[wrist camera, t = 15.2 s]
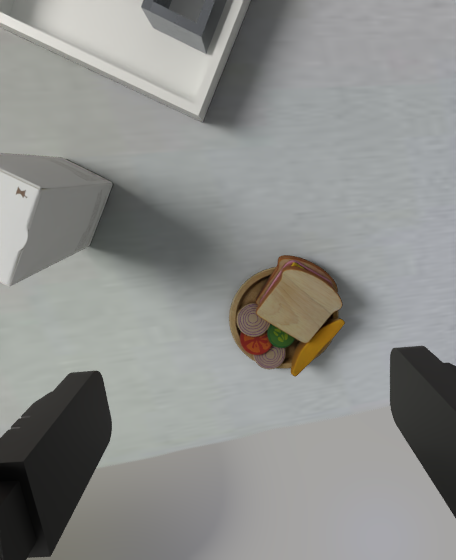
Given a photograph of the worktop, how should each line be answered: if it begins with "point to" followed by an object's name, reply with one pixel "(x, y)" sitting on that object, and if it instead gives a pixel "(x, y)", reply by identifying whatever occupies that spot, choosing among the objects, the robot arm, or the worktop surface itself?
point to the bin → (131, 45)
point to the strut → (185, 22)
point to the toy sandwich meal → (286, 314)
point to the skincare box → (45, 212)
